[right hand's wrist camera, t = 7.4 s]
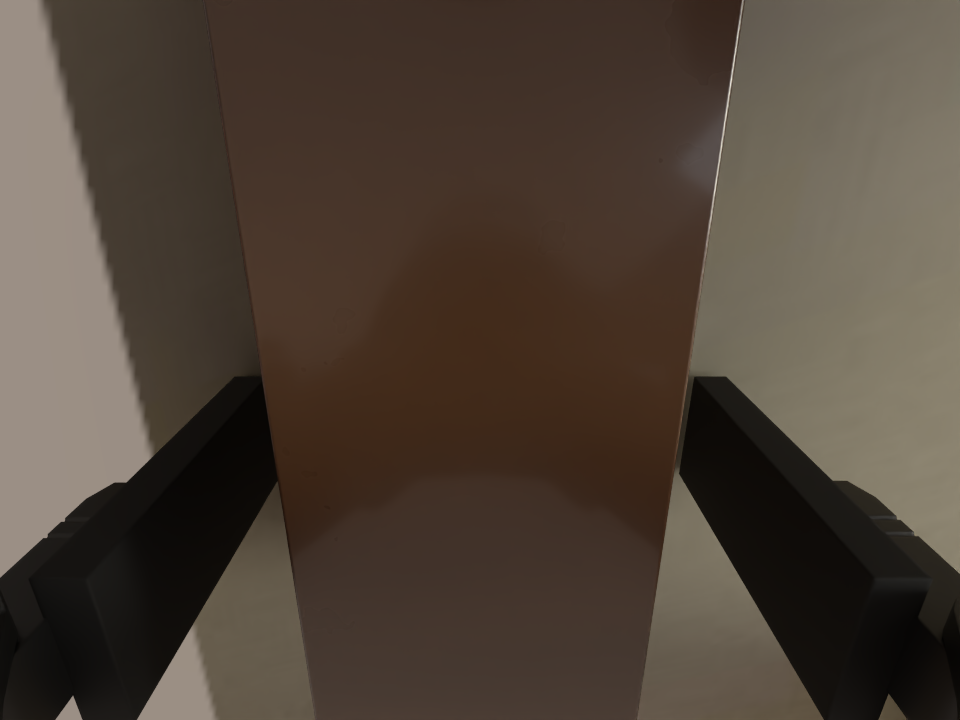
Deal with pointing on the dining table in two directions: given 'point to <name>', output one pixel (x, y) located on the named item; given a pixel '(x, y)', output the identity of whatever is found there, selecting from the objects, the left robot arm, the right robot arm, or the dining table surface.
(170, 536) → the right robot arm
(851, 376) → the dining table surface
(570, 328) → the walnut beam
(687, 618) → the dining table surface
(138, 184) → the dining table surface
